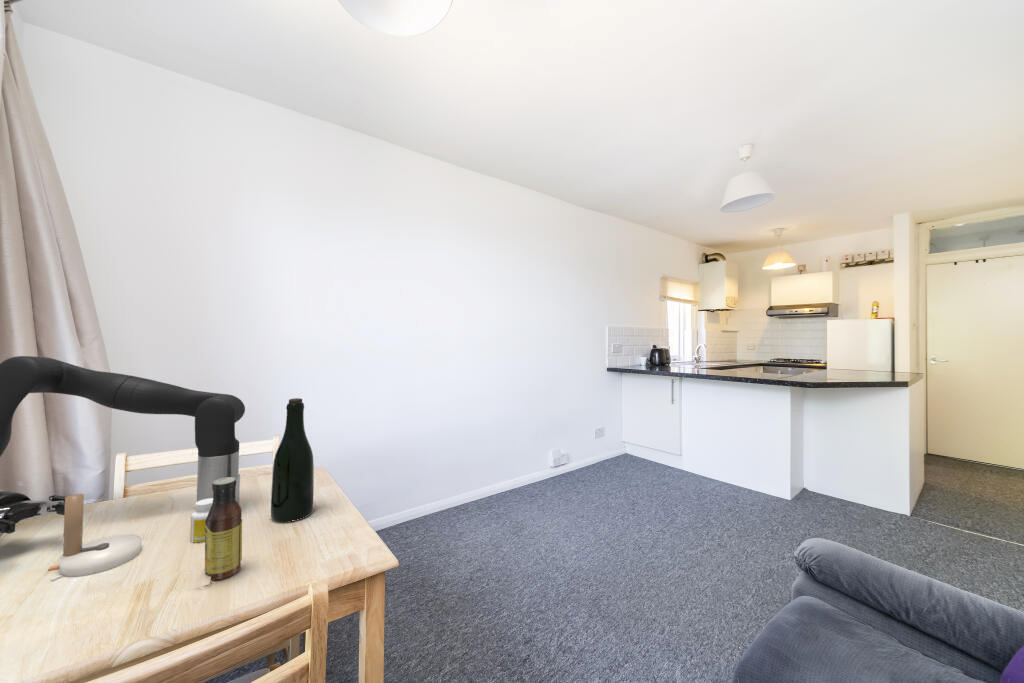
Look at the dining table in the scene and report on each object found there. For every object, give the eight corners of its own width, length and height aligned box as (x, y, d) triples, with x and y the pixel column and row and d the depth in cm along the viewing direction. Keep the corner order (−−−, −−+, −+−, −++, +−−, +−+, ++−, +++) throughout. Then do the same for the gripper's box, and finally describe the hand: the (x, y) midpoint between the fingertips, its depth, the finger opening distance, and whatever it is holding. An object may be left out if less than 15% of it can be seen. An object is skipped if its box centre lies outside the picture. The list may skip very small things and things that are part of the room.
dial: (149, 540, 90) (151, 479, 90) (128, 567, 80) (130, 497, 80) (77, 552, 84) (79, 487, 84) (44, 583, 74) (47, 508, 74)
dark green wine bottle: (273, 527, 100) (276, 402, 100) (268, 513, 108) (271, 397, 108) (316, 516, 106) (320, 399, 107) (309, 504, 115) (312, 395, 115)
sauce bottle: (217, 564, 83) (220, 474, 83) (248, 564, 83) (250, 473, 84) (195, 583, 76) (198, 485, 77) (228, 582, 77) (231, 484, 77)
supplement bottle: (223, 539, 93) (224, 499, 94) (197, 550, 89) (198, 508, 89) (210, 534, 96) (212, 495, 96) (185, 544, 91) (186, 503, 91)
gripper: (-60, 504, 78) (-9, 515, 74) (40, 481, 92) (87, 489, 88) (-62, 541, 78) (-10, 553, 74) (39, 512, 92) (86, 521, 88)
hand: (43, 518), depth 81 cm, fingers open, 8 cm apart
